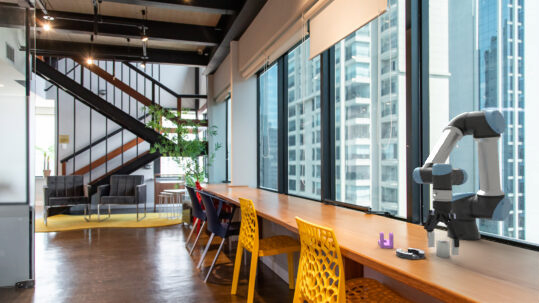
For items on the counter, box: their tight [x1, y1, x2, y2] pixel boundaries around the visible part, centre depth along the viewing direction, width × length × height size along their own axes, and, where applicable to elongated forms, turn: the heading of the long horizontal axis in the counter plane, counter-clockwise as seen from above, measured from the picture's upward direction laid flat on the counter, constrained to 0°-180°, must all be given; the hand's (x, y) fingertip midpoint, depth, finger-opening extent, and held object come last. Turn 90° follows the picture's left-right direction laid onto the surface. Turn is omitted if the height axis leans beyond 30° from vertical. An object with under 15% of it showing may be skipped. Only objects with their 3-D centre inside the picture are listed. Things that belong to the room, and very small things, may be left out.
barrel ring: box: [395, 247, 426, 260], centre depth 148 cm, size 11×11×2 cm
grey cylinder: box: [435, 239, 451, 259], centre depth 147 cm, size 5×5×6 cm
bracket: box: [377, 231, 395, 249], centre depth 168 cm, size 13×6×7 cm, turn 169°
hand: (442, 251), depth 147 cm, fingers open, 13 cm apart
